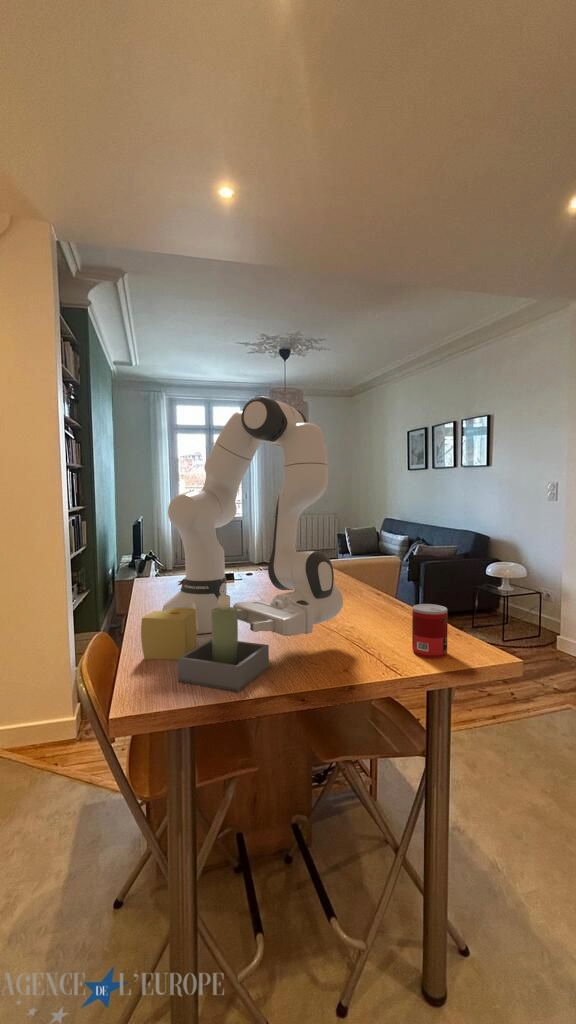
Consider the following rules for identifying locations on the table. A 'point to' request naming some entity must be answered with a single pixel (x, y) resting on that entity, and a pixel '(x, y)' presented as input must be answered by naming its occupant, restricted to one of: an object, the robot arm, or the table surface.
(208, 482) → the robot arm
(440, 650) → the canned food
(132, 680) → the table surface
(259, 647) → the box
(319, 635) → the table surface
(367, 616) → the table surface
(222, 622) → the green bottle
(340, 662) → the table surface
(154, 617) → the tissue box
